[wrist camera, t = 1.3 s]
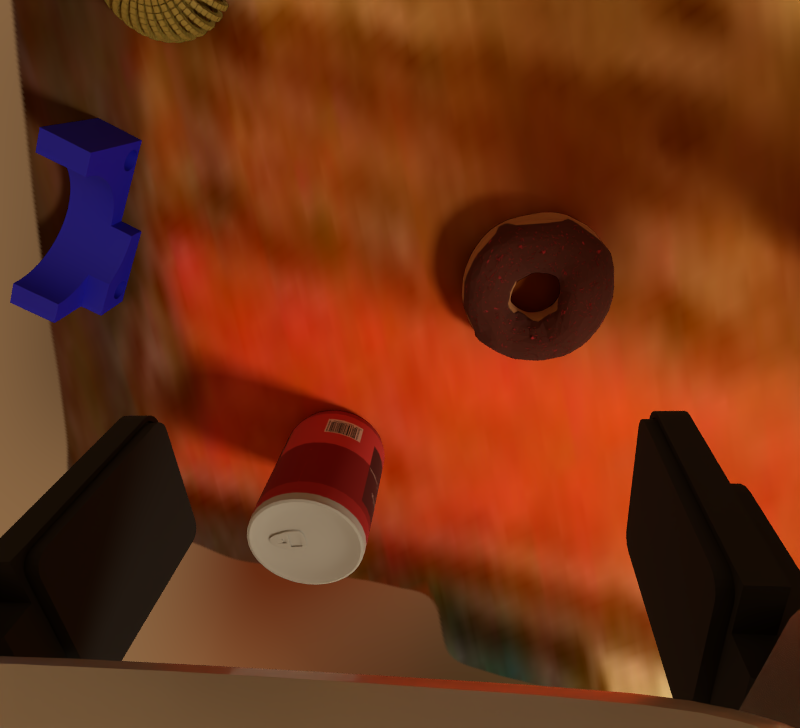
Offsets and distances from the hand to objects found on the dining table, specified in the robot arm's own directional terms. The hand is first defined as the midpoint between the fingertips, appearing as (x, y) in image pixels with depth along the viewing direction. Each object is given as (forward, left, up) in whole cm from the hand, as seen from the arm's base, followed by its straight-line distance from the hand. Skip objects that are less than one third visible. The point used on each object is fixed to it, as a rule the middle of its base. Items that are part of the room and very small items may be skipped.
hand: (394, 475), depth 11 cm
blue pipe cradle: (+22, +8, -30) cm, 38 cm away
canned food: (+3, +22, -30) cm, 37 cm away
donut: (-8, +4, -30) cm, 31 cm away
